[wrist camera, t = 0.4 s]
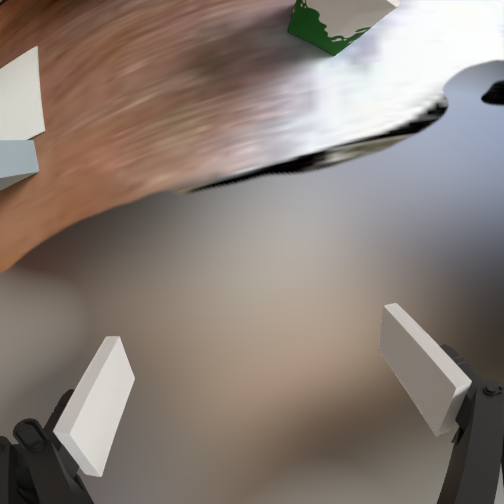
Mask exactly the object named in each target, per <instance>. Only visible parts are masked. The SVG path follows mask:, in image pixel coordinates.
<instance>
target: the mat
mask: <svg viewBox="0 0 504 504" xmlns="http://www.w3.org/2000/svg"><path fill="white" fill-rule="evenodd" d="M44 131H45V126H44V119H43V111H42V102H41V92H40V80H39V64H38V46H36V47H34V48H32V49H31V50H29V51H27V52H26V53H24V54H22V55H21V56H19V57H18V58H16V59H15V60H13V61H11V62H10V63H8V64H7V65H6V66H4V67H3V68H1V69H0V140H29V139H31V138H33V137H34V136H36V135H38V134H40V133H42V132H44Z"/></svg>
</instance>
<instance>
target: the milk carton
mask: <svg viewBox="0 0 504 504" xmlns="http://www.w3.org/2000/svg"><path fill="white" fill-rule="evenodd" d="M399 3H400V0H297V1H296V3H295V6H294V9H293V13H292V17H291V21H290V25H289V29H288V33H290V34H292V35H295V36H297V37H299V38H301V39H303V40H305V41H307V42H309V43H311V44H313V45H315V46H317V47H319V48H321V49H323V50H324V51H326V52H328V53H330V54H332V55H334V56H335V55H336V54H338V53H339V52H340V51H342V50H343V49H344V48H346V47H347V46H348V45H350V44H351V43H352V42H354V41H355V40H356V39H358V38H359V37H360V36H361V35H363V34H364V33H365V32H366V31H367V30H369V29H370V28H371V27H372V26H374V25H375V24H376V23H377V22H378V21H380V20H381V19H382V18H383V17H385V16H386V15H387V14H388V13H390V12H391V11H393V10H394V9H396V8H397V7H398V5H399Z"/></svg>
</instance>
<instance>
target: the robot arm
mask: <svg viewBox="0 0 504 504" xmlns="http://www.w3.org/2000/svg"><path fill="white" fill-rule="evenodd" d="M378 350H379V352H380V353H381V354H382V356H383V358H384V359H385V360H386V362H387V363H388V365H389V366H390V368H391V369H392V371H393V372H394V373H395V375H396V376H397V378H398V379H399V381H400V382H401V384H402V385H403V387H404V388H405V390H406V391H407V393H408V394H409V396H410V397H411V399H412V400H413V402H414V403H415V405H416V406H417V408H418V409H419V411H420V412H421V414H422V415H423V417H424V419H425V420H426V422H427V423H428V425H429V426H430V428H431V429H432V431H433V433H434V434H435V435H436V436H438V435H441V434H443V433H445V432H447V431H450V430H451V428H452V426H453V424H454V422H455V421H456V422H457V423H458V425H459V428H458V430H457V432H456V434H455V436H454V438H453V440H452V443H453V442H454V441H455V442H454V447H453V451H452V455H451V459H450V462H449V466H448V470H447V473H446V477H445V480H444V483H443V486H442V490H441V492H440V496H439V498H438V501H437V504H494V500H495V494H496V490H497V484H498V478H499V472H500V464H501V465H502V474H503V485H504V386H502V385H501V383H499V382H497V381H495V380H492V379H486V380H484V379H483V378H482V377H481V376H480V375H479V374H478V373H477V372H476V371H475V370H474V369H473V368H472V367H471V366H470V365H469V364H468V363H467V362H466V361H465V360H464V359H463V358H462V357H461V356H460V355H459V354H458V353H457V351H456V350H455V349H453V348H451V347H449V346H447V345H442V346H438V344H437V343H436V342H435V341H434V340H433V339H432V338H431V337H430V336H429V335H428V334H427V333H426V332H425V331H424V330H423V329H422V328H421V327H420V326H419V325H418V324H417V323H416V322H415V321H414V320H413V319H412V318H411V317H410V316H409V315H408V314H407V313H406V312H405V311H404V310H403V309H402V308H401V307H400V306H399V305H398V304H397V303H394V304H389V305H384V306H383V314H382V324H381V333H380V341H379V349H378ZM134 380H135V378H134V375H133V372H132V370H131V367H130V365H129V362H128V359H127V356H126V353H125V351H124V348H123V345H122V342H121V339H120V336H107V337H106V338H105V339H104V341H103V343H102V345H101V346H100V348H99V350H98V351H97V353H96V354H95V356H94V358H93V360H92V361H91V363H90V365H89V366H88V368H87V370H86V372H85V373H84V375H83V377H82V378H81V380H80V382H79V384H78V385H77V387H76V389H75V390H72V389H70V390H68V391H67V392H66V393H65V394H64V395H63V396H62V397H61V399H60V400H59V402H58V406H56V407H55V409H54V412H53V413H52V415H51V416H50V418H49V420H48V422H47V424H46V425H45V427H44V429H43V428H42V427H41V425H40V424H39V422H38V421H37V420H35V419H30V418H29V419H24V420H22V421H21V422H19V423H18V424H17V425H16V426H15V428H14V430H13V436H14V437H15V439H16V440H17V441H18V443H19V444H14V445H12V444H11V443H10V442H9V440H8V439H7V438H6V437H4V436H0V504H94V502H93V501H92V499H91V497H90V495H89V493H88V491H87V490H86V488H85V486H84V484H83V482H82V480H81V478H80V476H78V474H77V471H78V468H79V467H80V468H81V469H82V471H83V472H84V473H85V474H87V475H93V476H99V477H102V473H103V470H104V467H105V464H106V460H107V457H108V454H109V451H110V448H111V445H112V442H113V439H114V436H115V433H116V430H117V427H118V424H119V421H120V418H121V416H122V412H123V410H124V407H125V404H126V401H127V399H128V396H129V393H130V390H131V388H132V385H133V382H134Z"/></svg>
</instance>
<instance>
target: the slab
mask: <svg viewBox="0 0 504 504" xmlns="http://www.w3.org/2000/svg"><path fill="white" fill-rule="evenodd" d="M38 172H39V168H38V162H37V157H36V151H35V146H34V140H0V190H3V189H5V188H7V187H9V186H11V185H13V184H15V183H17V182H19V181H21V180H23V179H25V178H27V177H29V176H31V175H33V174H35V173H38Z"/></svg>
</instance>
